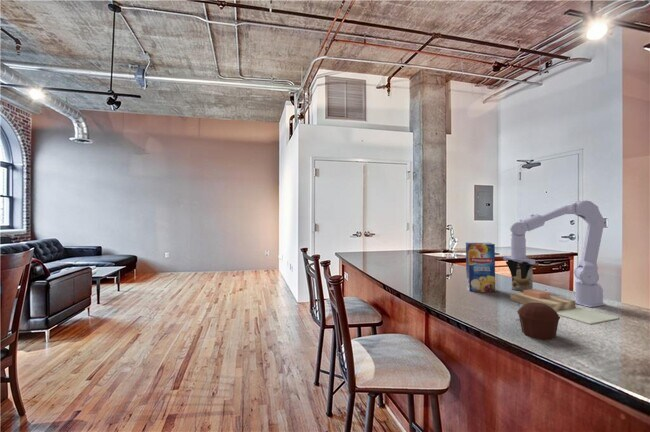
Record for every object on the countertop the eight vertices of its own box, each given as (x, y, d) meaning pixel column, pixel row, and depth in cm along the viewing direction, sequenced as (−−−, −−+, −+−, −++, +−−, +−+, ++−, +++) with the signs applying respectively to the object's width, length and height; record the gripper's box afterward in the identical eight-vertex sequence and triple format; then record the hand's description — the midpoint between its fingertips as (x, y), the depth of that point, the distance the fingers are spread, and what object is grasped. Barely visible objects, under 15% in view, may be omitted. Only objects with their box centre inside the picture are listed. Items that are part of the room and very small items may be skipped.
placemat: (579, 308, 124) (579, 307, 124) (619, 318, 112) (619, 317, 112) (552, 313, 119) (551, 312, 119) (589, 324, 107) (589, 323, 107)
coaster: (534, 293, 138) (534, 288, 138) (550, 297, 131) (550, 292, 131) (523, 294, 135) (523, 290, 135) (538, 298, 129) (538, 294, 129)
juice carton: (469, 291, 154) (468, 244, 154) (466, 287, 161) (465, 242, 161) (495, 292, 151) (494, 244, 151) (491, 288, 158) (490, 242, 158)
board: (533, 296, 142) (533, 290, 142) (575, 308, 125) (575, 300, 125) (510, 300, 138) (510, 293, 138) (551, 312, 121) (551, 304, 121)
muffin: (534, 326, 106) (534, 297, 106) (569, 338, 96) (568, 306, 96) (509, 330, 102) (508, 301, 102) (542, 344, 92) (541, 311, 92)
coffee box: (511, 289, 156) (511, 258, 156) (511, 287, 161) (511, 256, 161) (533, 292, 151) (532, 259, 151) (532, 289, 156) (532, 257, 156)
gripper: (498, 247, 147) (498, 275, 147) (526, 250, 133) (527, 281, 133) (509, 246, 149) (509, 274, 149) (538, 249, 135) (538, 280, 135)
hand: (518, 277), depth 141 cm, fingers open, 4 cm apart
